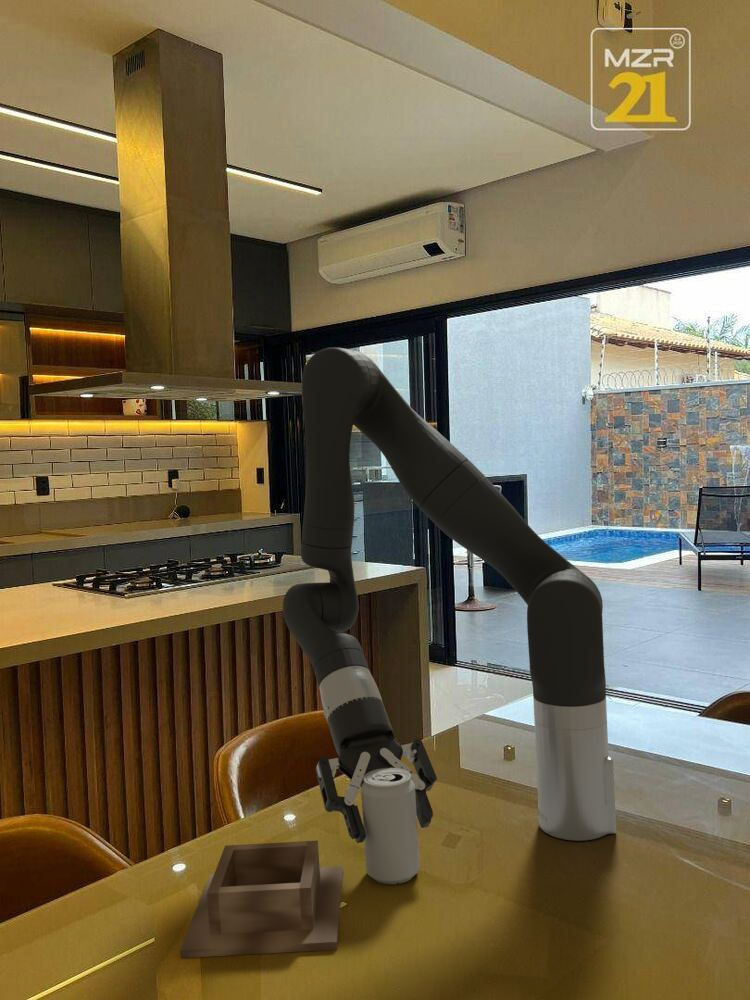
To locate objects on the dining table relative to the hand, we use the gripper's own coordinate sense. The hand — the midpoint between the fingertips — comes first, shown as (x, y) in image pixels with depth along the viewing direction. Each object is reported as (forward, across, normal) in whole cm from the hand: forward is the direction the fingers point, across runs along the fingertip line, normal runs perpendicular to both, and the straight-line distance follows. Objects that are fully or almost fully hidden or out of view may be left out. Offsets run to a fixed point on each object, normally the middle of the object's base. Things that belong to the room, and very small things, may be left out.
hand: (394, 832), depth 102 cm
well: (+4, -16, +4) cm, 17 cm away
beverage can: (+3, 0, +5) cm, 6 cm away
